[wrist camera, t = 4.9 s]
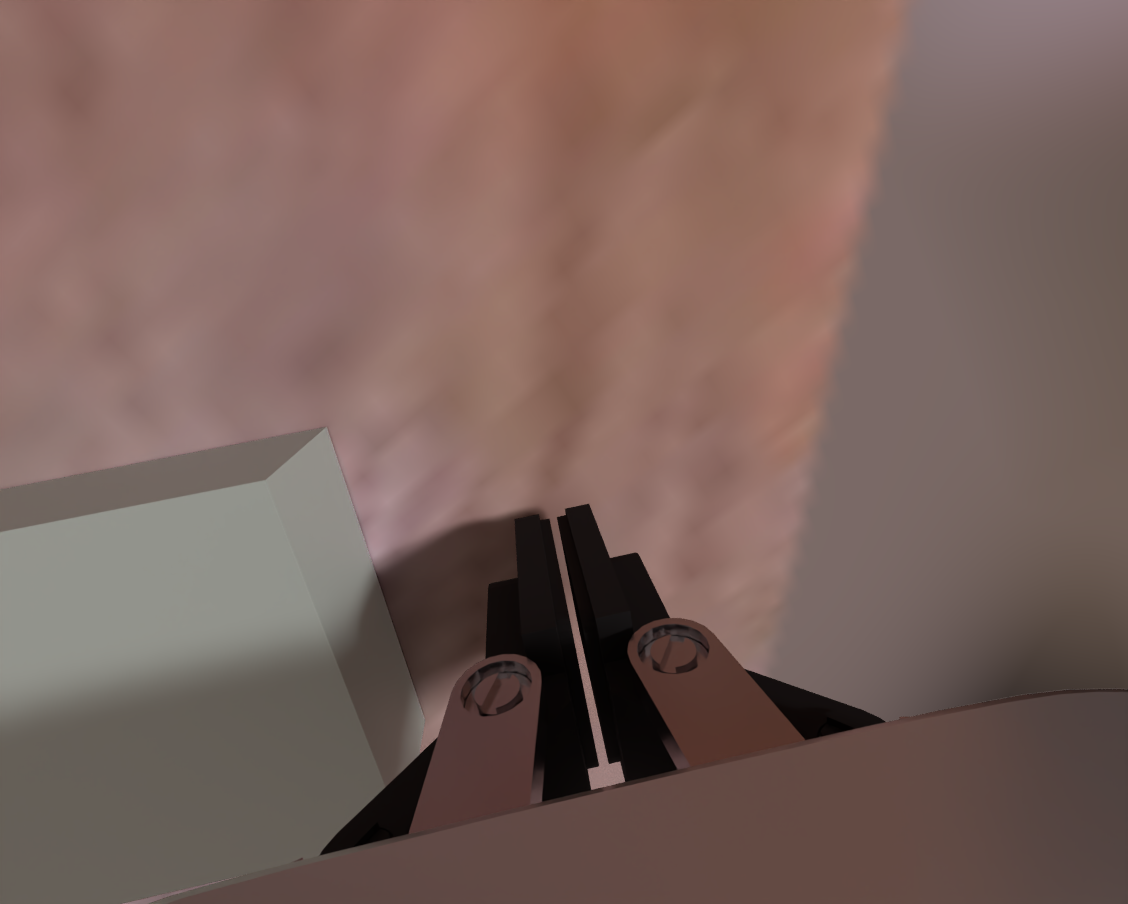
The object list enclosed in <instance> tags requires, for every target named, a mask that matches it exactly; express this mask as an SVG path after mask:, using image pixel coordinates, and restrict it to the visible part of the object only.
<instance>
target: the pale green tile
mask: <svg viewBox="0 0 1128 904" xmlns="http://www.w3.org/2000/svg"><path fill="white" fill-rule="evenodd" d="M424 724H425V718H424V715H423V712H422V709H421V706H420V703H419V700H418V697H417V694H416V691H415V688H414V685H413V683H412V680H411V677H410V674H409V671H408V668H407V665H406V662H405V659H404V656H403V653H402V650H401V647H400V644H399V641H398V638H397V635H396V632H395V629H394V626H393V623H392V620H391V617H390V614H389V611H388V608H387V605H386V602H385V599H384V596H383V593H382V590H381V587H380V584H379V581H378V578H377V575H376V572H375V570H374V567H373V564H372V561H371V558H370V555H369V552H368V549H367V546H366V543H365V540H364V537H363V534H362V531H361V528H360V525H359V522H358V519H357V516H356V513H355V510H354V507H353V504H352V501H351V498H350V495H349V492H348V489H347V486H346V483H345V480H344V477H343V474H342V471H341V468H340V465H339V462H338V460H337V457H336V454H335V451H334V448H333V445H332V442H331V439H330V436H329V433H328V430H327V427H324V428H318V429H313V430H308V431H303V432H298V433H292V434H287V435H282V436H277V437H272V438H266V439H261V440H256V441H251V442H246V443H240V444H235V445H230V446H225V447H220V448H214V449H209V450H204V451H199V452H194V453H188V454H183V455H178V456H173V457H168V458H162V459H157V460H152V461H147V462H142V463H136V464H131V465H126V466H121V467H116V468H110V469H105V470H100V471H95V472H90V473H84V474H79V475H74V476H69V477H64V478H58V479H53V480H48V481H43V482H38V483H32V484H27V485H22V486H17V487H12V488H6V489H1V490H0V904H122V903H127V902H131V901H135V900H140V899H144V898H148V897H152V896H157V895H161V894H165V893H169V892H174V891H178V890H182V889H186V888H191V887H195V886H199V885H204V884H208V883H212V882H216V881H221V880H225V879H229V878H233V877H238V876H242V875H246V874H250V873H254V872H257V871H261V870H264V869H268V868H272V867H276V866H280V865H284V864H288V863H291V862H294V861H296V860H298V859H300V858H303V860H304V859H308V858H312V857H316V856H319V855H320V853H321V852H322V850H323V849H324V848H325V846H326V845H327V844H328V843H329V842H330V841H331V840H332V838H333V837H334V836H335V835H336V834H337V833H338V832H339V831H340V830H341V829H342V828H343V827H344V826H345V825H346V824H347V823H348V822H349V821H350V820H351V819H353V818H354V817H355V816H356V815H357V814H358V813H359V812H360V811H361V810H362V809H363V808H364V807H365V806H366V805H367V804H368V803H369V802H370V801H371V800H372V799H373V798H375V797H376V796H377V795H378V794H379V793H380V792H381V791H382V790H383V789H384V788H385V787H386V786H387V785H388V784H389V783H390V782H391V781H392V780H393V779H394V778H396V777H397V776H398V775H399V774H400V773H401V772H402V771H403V770H404V769H405V768H406V767H407V766H408V765H409V764H410V763H411V762H412V761H413V760H414V759H415V758H417V757H418V756H419V753H420V747H421V741H422V736H423V730H424Z"/></svg>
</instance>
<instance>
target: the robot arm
mask: <svg viewBox="0 0 1128 904" xmlns="http://www.w3.org/2000/svg"><path fill="white" fill-rule="evenodd" d="M565 512H566V515H564V516H560V517H557V520H558V525H559V530H560V535H561V540H562V545H563V550H564V555H565V561H566V566H567V571H568V576H569V581H570V586H571V591H572V596H573V601H574V606H575V612H576V617H577V622H578V626H579V631H580V636H581V640H582V645H583V649H584V654H585V658H586V663H587V668H588V672H589V677H590V681H591V686H592V690H593V695H594V699H595V704H596V708H597V713H598V717H599V722H600V726H601V731H602V735H603V740H604V745H605V749H606V754H607V758H608V762H609V764H611V763H615V762H619V761H620V762H621V766H622V770H623V774H624V778H625V782H624V783H619V784H615V785H611V786H607V787H602V788H598V789H594V790H591V787H590V781H589V775H588V769H589V768H593V767H598V766H599V763H598V758H597V753H596V748H595V743H594V738H593V733H592V728H591V723H590V718H589V713H588V708H587V703H586V698H585V693H584V688H583V683H582V678H581V673H580V668H579V663H578V658H577V653H576V648H575V643H574V638H573V633H572V628H571V623H570V618H569V614H568V609H567V604H566V599H565V594H564V589H563V584H562V579H561V574H560V569H559V564H558V559H557V554H556V549H555V544H554V539H553V534H552V529H551V524H550V519H545V520H540V518H539V514H538V515H533V516H528V517H523V518H518V519H515V535H516V552H517V570H518V578H514V579H510V580H505V581H500V582H495V583H491V584H489V587H488V608H487V633H486V658H485V660H482V661H480V662H478V663H476V664H475V665H473V666H472V667H471V668H469V669H468V670H466V671H465V672H464V674H463V675H462V676H461V677H460V678H459V679H458V680H457V682H456V684H455V686H454V688H453V690H452V692H451V696H450V699H449V702H448V705H447V709H446V712H445V715H444V719H443V722H442V725H441V728H440V732H439V735H438V737H437V738H436V739H435V740H434V741H433V742H432V743H431V744H430V745H429V746H428V747H427V748H426V749H425V750H424V751H423V752H422V753H421V754H420V755H419V756H418V757H417V758H415V759H414V760H413V761H412V762H411V763H410V764H409V765H408V766H407V767H406V768H405V769H404V770H403V771H402V772H401V773H400V774H399V775H398V776H397V777H396V778H394V779H393V780H392V781H391V782H390V783H389V784H388V785H387V786H386V787H385V788H384V789H383V790H382V791H381V792H380V793H379V794H378V795H377V796H376V797H375V798H373V799H372V800H371V801H370V802H369V803H368V804H367V805H366V806H365V807H364V808H363V809H362V810H361V811H360V812H359V813H358V814H357V815H356V816H355V817H354V818H353V819H351V820H350V821H349V822H348V823H347V824H346V825H345V826H344V827H343V828H342V829H341V830H340V831H339V832H338V833H337V834H336V835H335V836H334V837H333V838H332V840H331V841H330V842H329V843H328V844H327V845H326V846H325V848H324V849H323V850H322V852H321V853H320V855H319V856H316V857H312V858H308V859H304V860H303V858H300V859H298V860H296V861H294V862H291V863H288V864H284V865H280V866H276V867H272V868H268V869H264V870H261V871H257V872H254V873H250V874H247V875H243V876H239V877H236V878H232V879H229V880H225V881H222V882H218V883H215V884H211V885H208V886H204V887H201V888H197V889H193V890H190V891H186V892H183V893H179V894H176V895H172V896H169V897H166V898H163V899H160V900H158V901H155V902H152V903H149V904H1128V689H1069V690H1060V691H1050V692H1041V693H1032V694H1023V695H1018V696H1013V697H1007V698H1002V699H997V700H991V701H986V702H981V703H975V704H970V705H965V706H959V707H954V708H948V709H944V710H938V711H933V712H929V713H925V714H920V715H916V716H911V717H899V719H898V720H894V721H889V722H885V721H884V720H882V719H881V718H879V717H877V716H874V715H872V714H870V713H868V712H866V711H864V710H861V709H858V708H855V707H852V706H849V705H847V704H844V703H841V702H838V701H835V700H832V699H829V698H826V697H824V696H820V695H818V694H815V693H812V692H809V691H806V690H804V689H800V688H798V687H795V686H792V685H789V684H786V683H783V682H781V681H777V680H775V679H772V678H769V677H766V676H763V675H760V674H758V673H755V672H752V671H749V670H746V669H744V668H743V667H742V666H741V665H740V664H739V662H738V661H737V660H736V659H735V658H734V657H733V656H732V654H731V653H730V652H729V651H728V650H727V649H726V647H725V646H724V645H723V644H722V643H721V642H720V640H719V639H718V638H717V637H716V636H715V635H714V633H712V632H711V631H710V630H709V629H708V628H706V627H705V626H704V625H701V624H699V623H697V622H695V621H692V620H687V619H682V618H670V617H669V615H668V613H667V611H666V609H665V607H664V605H663V603H662V601H661V599H660V597H659V595H658V593H657V591H656V589H655V587H654V585H653V583H652V581H651V579H650V577H649V575H648V573H647V570H646V568H645V566H644V564H643V562H642V560H641V558H640V556H639V555H638V553H632V554H627V555H622V556H618V557H613V558H610V557H609V554H608V552H607V549H606V547H605V544H604V541H603V539H602V536H601V534H600V531H599V528H598V526H597V523H596V521H595V518H594V515H593V513H592V510H591V508H590V505H589V504H586V505H581V506H576V507H571V508H567V509H565Z"/></svg>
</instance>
